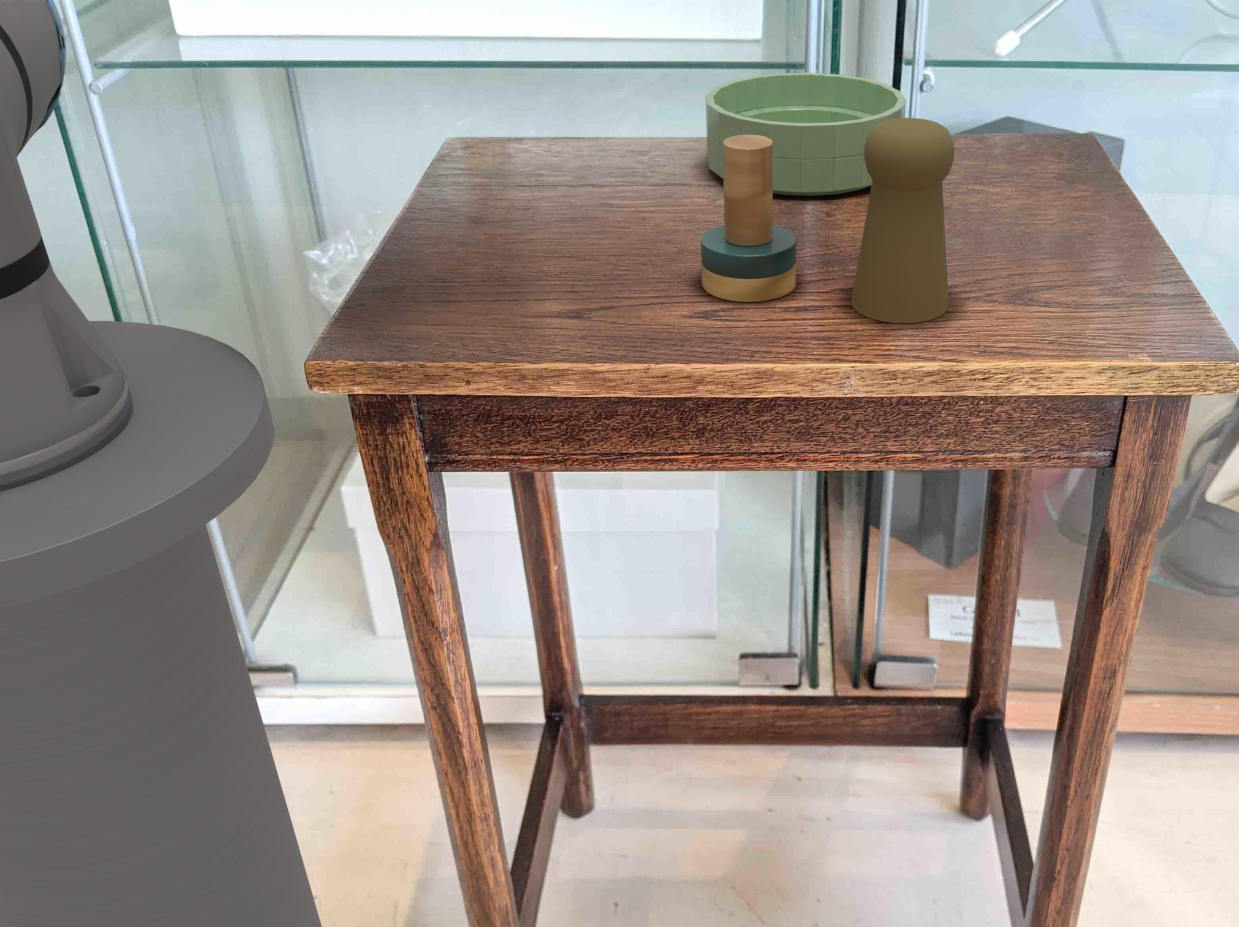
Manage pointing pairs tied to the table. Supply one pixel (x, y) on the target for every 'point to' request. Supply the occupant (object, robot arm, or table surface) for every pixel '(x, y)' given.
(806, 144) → the bowl
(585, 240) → the table surface
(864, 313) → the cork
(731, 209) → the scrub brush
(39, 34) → the robot arm
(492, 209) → the table surface
